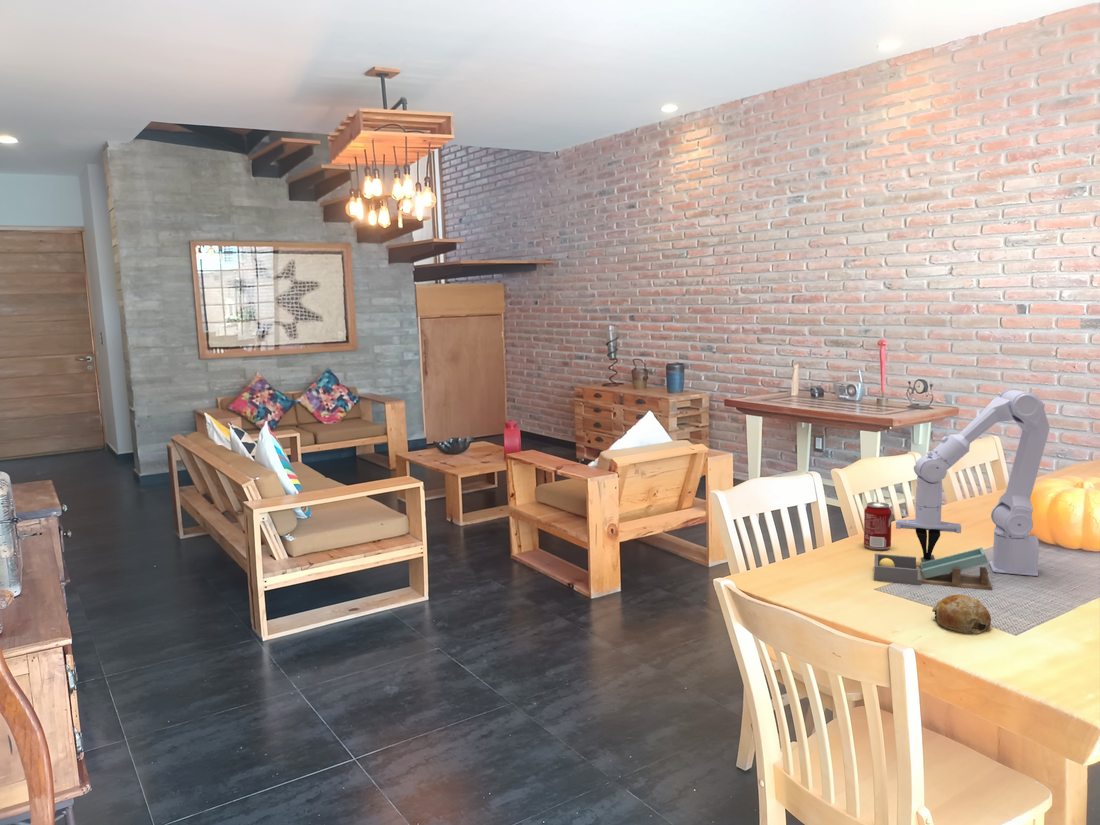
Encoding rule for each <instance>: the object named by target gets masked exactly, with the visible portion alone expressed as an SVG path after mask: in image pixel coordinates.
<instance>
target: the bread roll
mask: <svg viewBox="0 0 1100 825" xmlns="http://www.w3.org/2000/svg"><path fill="white" fill-rule="evenodd" d="M931 611H932V613H934V620H935V622H936V623H937V624H938V625H939V626H940V627H942V628H944V629H945V630H946V629H947V630H950V631H953V632H955V633H957V632H958V633H962V634H971V635H972V634H973V635H977V634H980V633H983V632H985V631H987V630H989V629H990V627H991V623H992V618H991V617H992V616H991V614H990V611H989V610H988V609H987V607H986V606H985V605H983V604H982V602H980V600H979V599H978V598H975V597H974V598H973V597H971V596H969V595H965V594H952V595H947V596H946V597H944V598H942V599H941V600H939V601H936V605H935V606H933V607H932V609H931ZM986 629H987V630H986Z"/></svg>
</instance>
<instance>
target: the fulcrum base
mask: <svg viewBox="0 0 1100 825" xmlns="http://www.w3.org/2000/svg"><path fill="white" fill-rule="evenodd" d="M961 571H962V570H961V569H960V568H953V572H950V573H946V574H942V575H938V576H934V577H930V578H926V579H925V578H924V575H923V573H922V569H920V575H921V584H924V585H927V584H928V585H933V586H934V585H935V586H936V585H937V586H946V587H957V588H968V589H979V590H990V591H992V590H993V587H992V586H993V585H992V584H991V581H990V578H989V572H988V569H987V567H983V566H980V567H979V575H977V574H975V575H974V574H965V573H962V572H961Z"/></svg>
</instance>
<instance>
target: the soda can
mask: <svg viewBox="0 0 1100 825" xmlns="http://www.w3.org/2000/svg"><path fill="white" fill-rule="evenodd" d="M863 513H864V514H863V516H864V520H863V522H864V523H863V532H864V533H863V546H865V547H867V548H868V549H869V550H873V551H887V549H889V548H891V546H892V516H893V514H892V510H891V508H890V504H889V503H887V502H880V501H879V502H878V501H870V502H867V503H866V507H865V508H864V511H863Z"/></svg>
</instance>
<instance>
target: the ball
mask: <svg viewBox="0 0 1100 825" xmlns="http://www.w3.org/2000/svg"><path fill="white" fill-rule="evenodd" d="M879 566H887V567H895V564H894V562H893V561H892V560H891V559H889V558H884V559H882V560H881V561H880V562H879Z"/></svg>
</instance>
